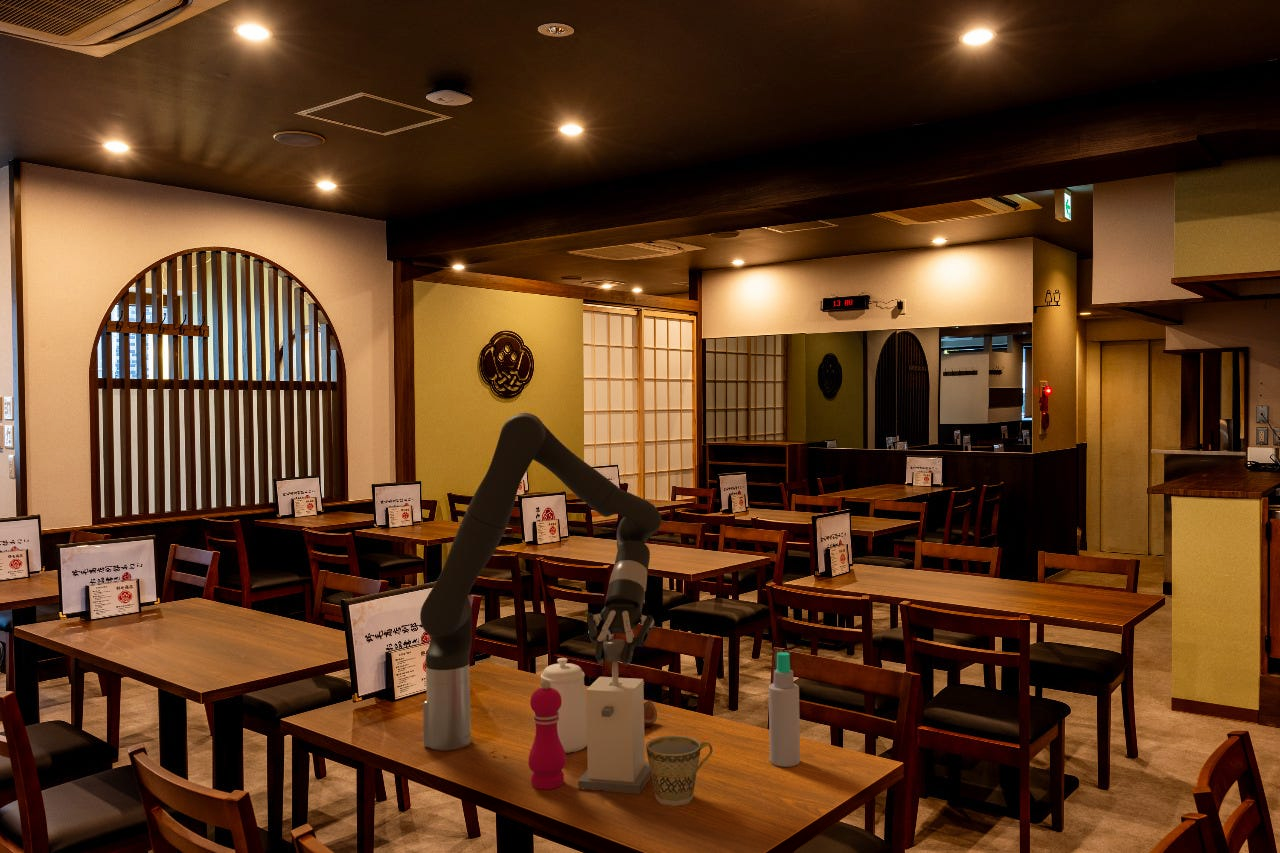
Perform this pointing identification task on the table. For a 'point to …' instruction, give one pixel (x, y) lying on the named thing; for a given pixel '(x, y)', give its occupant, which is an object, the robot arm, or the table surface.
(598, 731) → the dispenser
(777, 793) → the table surface
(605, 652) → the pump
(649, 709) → the fruit slice
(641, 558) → the robot arm
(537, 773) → the pepper mill
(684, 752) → the ceramic cup
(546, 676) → the coffeepot
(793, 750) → the spray bottle
